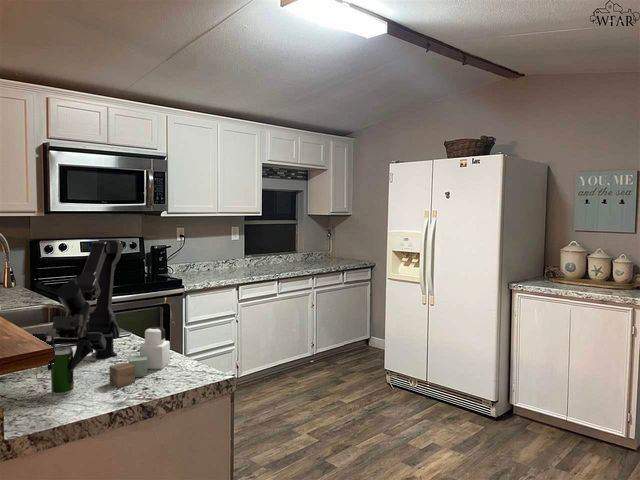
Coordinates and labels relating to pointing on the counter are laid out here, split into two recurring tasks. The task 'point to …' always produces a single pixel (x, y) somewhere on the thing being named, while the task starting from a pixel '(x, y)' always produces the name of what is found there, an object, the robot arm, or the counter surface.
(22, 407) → the counter surface
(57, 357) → the beer can
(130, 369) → the walnut block
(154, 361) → the medicine bottle
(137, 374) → the sage block
